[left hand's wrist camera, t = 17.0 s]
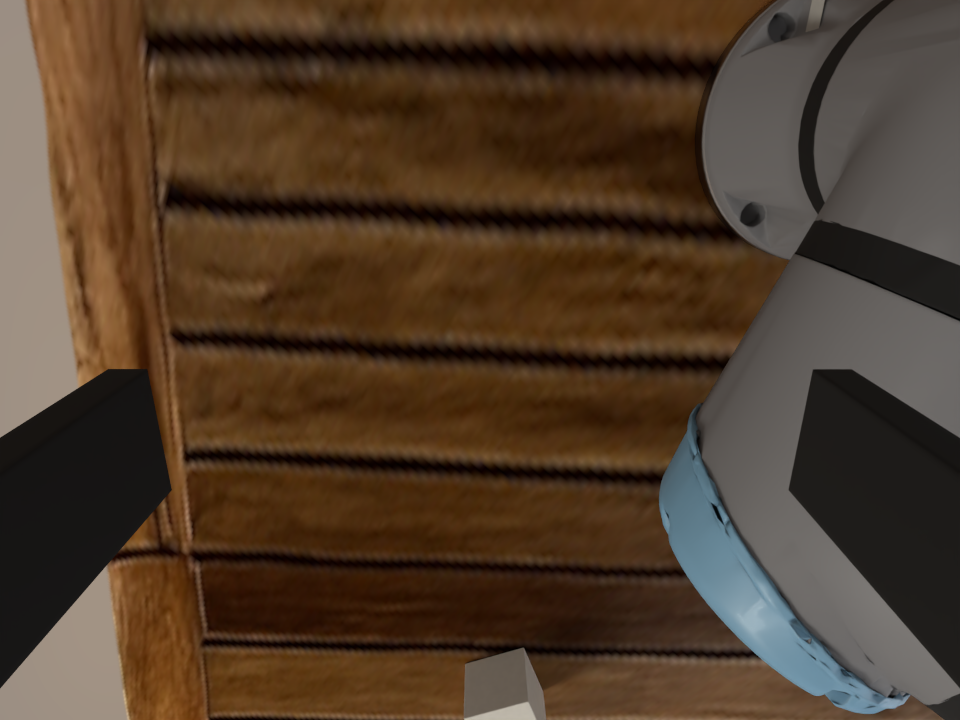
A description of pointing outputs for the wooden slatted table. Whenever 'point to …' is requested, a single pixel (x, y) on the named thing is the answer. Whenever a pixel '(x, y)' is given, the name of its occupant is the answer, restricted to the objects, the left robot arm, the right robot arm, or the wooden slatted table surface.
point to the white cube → (503, 689)
